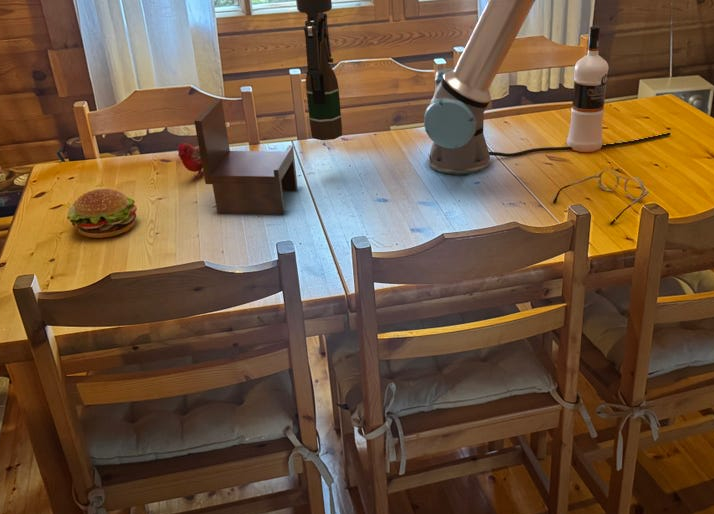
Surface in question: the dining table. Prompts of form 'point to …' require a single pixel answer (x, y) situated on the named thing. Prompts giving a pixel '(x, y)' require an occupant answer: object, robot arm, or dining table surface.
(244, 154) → the shelf stand
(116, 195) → the food
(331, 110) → the beer bottle
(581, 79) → the vodka
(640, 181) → the eyeglasses
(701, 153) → the dining table surface
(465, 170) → the robot arm
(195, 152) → the decorative bird figurine
